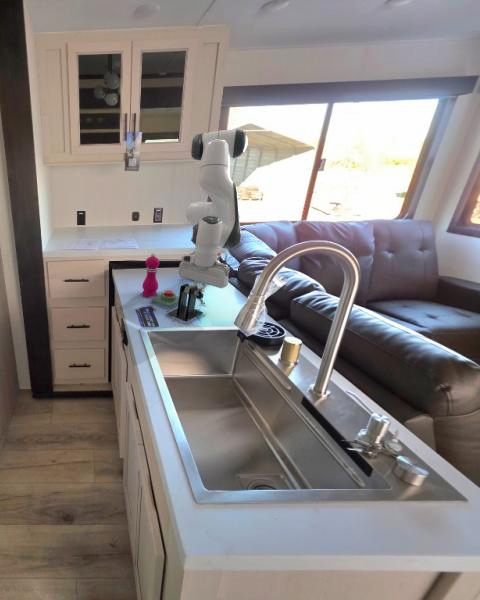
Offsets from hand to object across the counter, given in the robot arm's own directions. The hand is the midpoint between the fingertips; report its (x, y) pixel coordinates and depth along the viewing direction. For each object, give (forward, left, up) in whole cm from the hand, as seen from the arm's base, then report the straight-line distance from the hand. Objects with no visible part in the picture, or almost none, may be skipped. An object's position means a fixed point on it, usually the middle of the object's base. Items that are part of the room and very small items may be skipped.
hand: (199, 291), depth 129 cm
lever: (+5, 0, -1) cm, 5 cm away
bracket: (+9, 0, -8) cm, 12 cm away
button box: (+4, -12, -8) cm, 15 cm away
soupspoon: (-13, -8, -8) cm, 18 cm away
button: (+4, -12, -5) cm, 13 cm away
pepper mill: (+3, -23, -8) cm, 25 cm away
